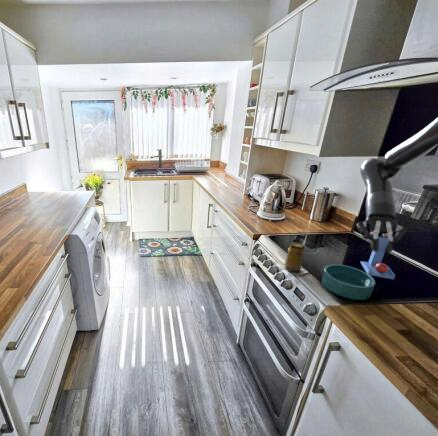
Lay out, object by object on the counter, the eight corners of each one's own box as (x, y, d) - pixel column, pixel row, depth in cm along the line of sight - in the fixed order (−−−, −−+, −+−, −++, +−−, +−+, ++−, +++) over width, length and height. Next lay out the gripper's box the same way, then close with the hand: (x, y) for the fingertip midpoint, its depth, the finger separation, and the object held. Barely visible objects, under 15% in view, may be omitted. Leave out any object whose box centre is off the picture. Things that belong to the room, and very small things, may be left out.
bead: (386, 274, 80) (393, 269, 78) (377, 274, 80) (383, 269, 77) (379, 267, 82) (385, 261, 80) (370, 267, 82) (376, 261, 80)
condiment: (291, 263, 112) (296, 240, 108) (308, 272, 105) (314, 248, 100) (279, 266, 110) (284, 243, 106) (296, 276, 102) (301, 251, 98)
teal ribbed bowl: (363, 281, 97) (367, 269, 95) (376, 305, 85) (381, 291, 82) (318, 273, 104) (321, 261, 102) (324, 294, 91) (328, 281, 89)
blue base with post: (360, 262, 87) (369, 235, 83) (384, 266, 84) (394, 238, 80) (367, 274, 80) (378, 245, 76) (394, 279, 77) (406, 249, 73)
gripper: (359, 199, 86) (360, 244, 80) (412, 203, 80) (416, 252, 74) (351, 209, 92) (351, 251, 87) (400, 213, 86) (403, 259, 81)
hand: (381, 251), depth 80 cm, fingers closed on blue base with post, 2 cm apart
